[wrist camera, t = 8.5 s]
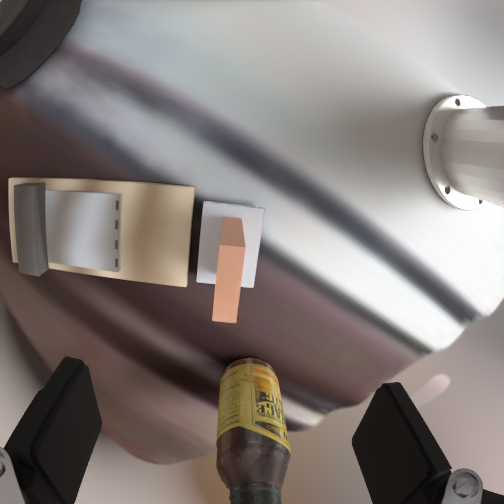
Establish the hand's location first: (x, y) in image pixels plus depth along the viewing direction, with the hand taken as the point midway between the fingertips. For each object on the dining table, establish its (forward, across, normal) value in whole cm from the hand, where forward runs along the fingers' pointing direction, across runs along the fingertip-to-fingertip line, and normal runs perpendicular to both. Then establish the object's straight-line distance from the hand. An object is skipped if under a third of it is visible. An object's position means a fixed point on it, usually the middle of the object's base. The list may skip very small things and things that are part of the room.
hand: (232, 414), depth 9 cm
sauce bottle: (+20, -3, +15) cm, 26 cm away
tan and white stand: (+19, 0, 0) cm, 19 cm away
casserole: (+20, +29, -25) cm, 43 cm away
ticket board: (+20, +14, 0) cm, 24 cm away
